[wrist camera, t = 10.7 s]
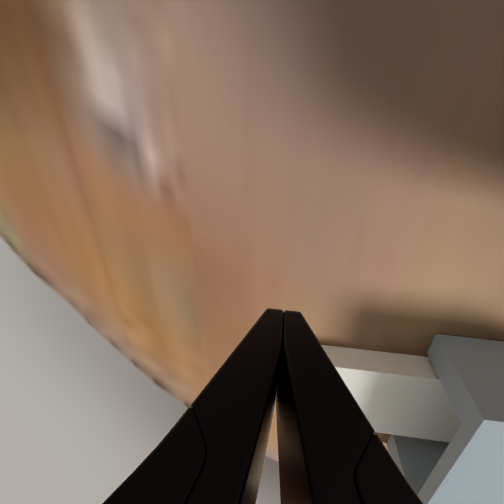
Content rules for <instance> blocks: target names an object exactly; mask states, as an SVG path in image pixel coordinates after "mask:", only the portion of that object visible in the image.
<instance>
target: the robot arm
mask: <svg viewBox="0 0 504 504" xmlns="http://www.w3.org/2000/svg"><path fill="white" fill-rule="evenodd" d="M276 392H277V395H276ZM275 400H276V412H277V434H278V455H279V476H280V498H281V504H423V503H422V501H421V500H420V499H419V497H418V496H417V494H416V493H415V492H414V490H413V489H412V488H411V486H410V485H409V483H408V482H407V480H406V479H405V477H404V476H403V474H402V472H401V471H400V469H399V468H398V466H397V465H396V463H395V462H394V460H393V459H392V457H391V456H390V454H389V453H388V451H387V449H386V448H385V446H384V445H383V443H382V441H381V440H380V438H379V436H378V435H377V434H374V433H375V431H374V429H373V427H372V426H371V424H370V422H369V421H368V419H367V418H366V416H365V414H364V413H363V411H362V410H361V408H360V406H359V405H358V403H357V402H356V400H355V398H354V397H353V395H352V394H351V392H350V390H349V389H348V387H347V386H346V384H345V382H344V381H343V379H342V378H341V376H340V374H339V373H338V371H337V370H336V368H335V366H334V365H333V363H332V362H331V360H330V358H329V357H328V355H327V354H326V352H325V350H324V349H323V347H322V346H321V344H320V342H319V341H318V339H317V338H316V336H315V335H314V333H313V331H312V330H311V328H310V327H309V325H308V323H307V322H306V320H305V319H304V317H303V315H302V314H301V313H300V312H297V311H288V310H286V311H284V313H283V311H282V310H279V309H270V308H269V309H266V311H265V312H264V313H263V314H262V316H261V317H260V318H259V319H258V321H257V322H256V323H255V324H254V326H253V327H252V328H251V330H250V331H249V332H248V333H247V335H246V336H245V337H244V338H243V340H242V341H241V342H240V343H239V345H238V346H237V347H236V349H235V350H234V351H233V352H232V354H231V355H230V356H229V357H228V359H227V360H226V361H225V363H224V364H223V365H222V366H221V368H220V369H219V370H218V371H217V373H216V374H215V375H214V376H213V378H212V379H211V380H210V382H209V383H208V384H207V385H206V387H205V388H204V389H203V390H202V392H201V393H200V394H199V396H198V397H197V398H196V399H195V401H194V402H193V403H192V405H191V408H188V409H187V410H186V412H185V413H184V414H183V416H182V417H181V418H180V419H179V421H178V422H177V423H176V424H175V426H174V427H173V428H172V429H171V430H170V432H169V433H168V434H167V435H166V436H165V437H164V439H163V440H162V441H161V442H160V444H159V445H158V446H157V447H156V448H155V449H154V450H153V451H152V452H151V453H150V455H149V456H148V457H147V458H146V459H145V460H144V461H143V462H142V463H141V464H140V465H139V466H138V468H136V470H135V471H134V472H133V473H132V474H131V475H130V476H129V477H128V478H127V479H126V480H125V481H124V482H123V483H122V484H121V485H120V486H119V487H118V488H117V489H116V490H115V491H114V492H113V493H112V494H111V495H110V497H108V498H107V500H105V501H104V503H103V504H255V503H256V498H257V493H258V488H259V483H260V478H261V473H262V467H263V463H264V458H265V453H266V447H267V442H268V437H269V432H270V427H271V422H272V417H273V412H274V406H275Z"/></svg>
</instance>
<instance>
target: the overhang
mask: <svg viewBox="0 0 504 504" xmlns="http://www.w3.org/2000/svg"><path fill="white" fill-rule="evenodd" d="M427 355H428V357H429V359H430V361H431V363H432V365H433V367H434V369H435V371H436V373H437V375H438V377H439V379H440V381H441V383H442V385H443V387H444V389H445V391H446V393H447V395H448V398H449V400H450V402H451V404H452V406H453V408H454V410H455V412H456V414H457V416H458V418H459V420H460V422H461V426H460V427H459V429H458V430H457V432H456V434H455V435H454V437H453V438H452V440H451V442H442V441H435V440H428V439H421V438H414V437H406V436H399V435H392V434H391V435H390V437H389V439H388V441H387V448H388V452H389V454H390V456H391V457H392V459H393V460H394V462H395V463H396V465H397V466H398V468H399V469H400V471H401V472H402V474H403V476H404V477H405V479H406V480H407V482H408V483H409V485H410V486H411V488H412V489H413V490H414V492H415V493H416V494H417V496H418V497H419V499H420V500H421V501H422V503H423V504H504V341H496V340H487V339H478V338H469V337H460V336H452V335H443V334H435V336H434V338H433V341H432V343H431V345H430V347H429V350H428V352H427Z"/></svg>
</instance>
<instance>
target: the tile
mask: <svg viewBox="0 0 504 504" xmlns="http://www.w3.org/2000/svg"><path fill="white" fill-rule="evenodd" d="M321 346H322V347H323V349H324V350H325V352H326V354H327V355H328V357H329V358H330V360H331V362H332V363H333V365H334V366H335V368H336V370H337V371H338V373H339V374H340V376H341V378H342V379H343V381H344V382H345V384H346V386H347V387H348V389H349V390H350V392H351V394H352V395H353V397H354V398H355V400H356V402H357V403H358V405H359V406H360V408H361V410H362V411H363V413H364V414H365V416H366V418H367V419H368V421H369V422H370V424H371V426H372V427H373V429H374V431H375V432H378V433H385V434H392V435H399V436H406V437H414V438H421V439H428V440H435V441H442V442H451V440H452V438H453V437H454V435H455V434H456V432H457V430H458V429H459V427H460V426H461V422H460V420H459V418H458V416H457V414H456V412H455V410H454V408H453V406H452V404H451V402H450V400H449V398H448V395H447V393H446V391H445V389H444V387H443V385H442V383H441V381H440V379H439V377H438V375H437V373H436V371H435V369H434V367H433V365H432V363H431V361H430V359H429V357H425V356H416V355H407V354H398V353H389V352H380V351H371V350H363V349H354V348H345V347H336V346H327V345H321Z"/></svg>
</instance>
